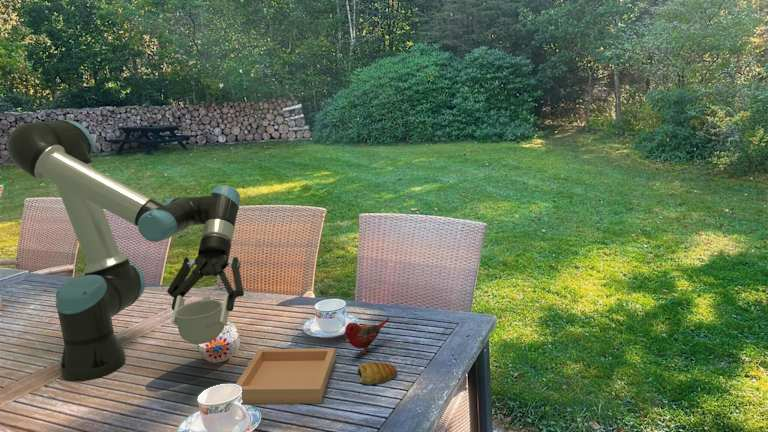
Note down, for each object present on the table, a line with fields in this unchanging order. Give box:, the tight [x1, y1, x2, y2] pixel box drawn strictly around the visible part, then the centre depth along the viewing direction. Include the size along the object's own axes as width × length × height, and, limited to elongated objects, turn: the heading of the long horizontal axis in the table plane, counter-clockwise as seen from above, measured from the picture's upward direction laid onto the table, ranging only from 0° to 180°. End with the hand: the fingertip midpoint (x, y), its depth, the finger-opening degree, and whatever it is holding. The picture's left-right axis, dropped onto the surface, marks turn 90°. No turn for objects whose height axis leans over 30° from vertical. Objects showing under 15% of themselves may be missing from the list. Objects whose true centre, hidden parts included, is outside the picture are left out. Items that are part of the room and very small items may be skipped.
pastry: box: [356, 361, 398, 386], centre depth 136 cm, size 9×7×4 cm
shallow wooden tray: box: [235, 347, 337, 404], centre depth 136 cm, size 20×20×4 cm
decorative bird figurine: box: [343, 317, 390, 356], centre depth 150 cm, size 3×18×10 cm, turn 139°
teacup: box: [173, 296, 225, 345], centre depth 135 cm, size 14×11×8 cm
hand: (199, 323), depth 132 cm, fingers closed on teacup, 11 cm apart
